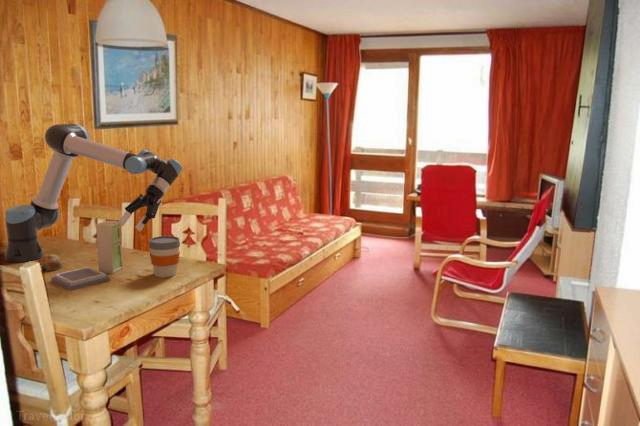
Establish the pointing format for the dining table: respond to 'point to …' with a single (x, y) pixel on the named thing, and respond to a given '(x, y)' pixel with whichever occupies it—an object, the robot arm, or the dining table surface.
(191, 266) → the dining table surface
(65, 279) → the base plate
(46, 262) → the bread roll
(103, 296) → the dining table surface
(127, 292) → the dining table surface
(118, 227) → the toy refrigerator
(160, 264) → the reusable coffee cup
